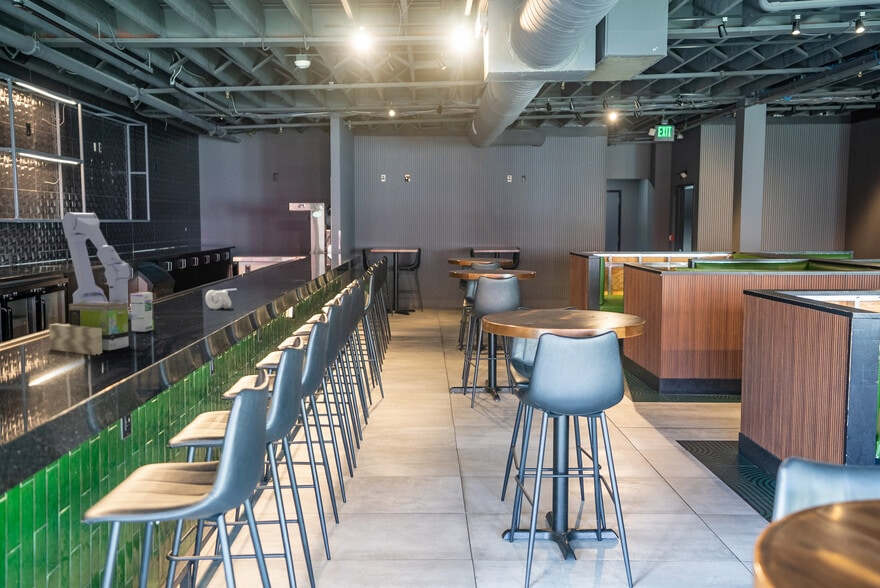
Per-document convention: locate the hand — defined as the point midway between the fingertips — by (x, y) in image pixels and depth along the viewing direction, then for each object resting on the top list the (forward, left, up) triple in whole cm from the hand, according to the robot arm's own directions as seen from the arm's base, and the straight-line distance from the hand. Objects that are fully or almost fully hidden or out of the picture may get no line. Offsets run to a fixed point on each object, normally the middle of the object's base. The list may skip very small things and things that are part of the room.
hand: (119, 339), depth 243 cm
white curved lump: (-43, +96, -2) cm, 105 cm away
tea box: (0, -8, -2) cm, 8 cm away
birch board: (0, -17, -2) cm, 17 cm away
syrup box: (-18, +26, -2) cm, 32 cm away
